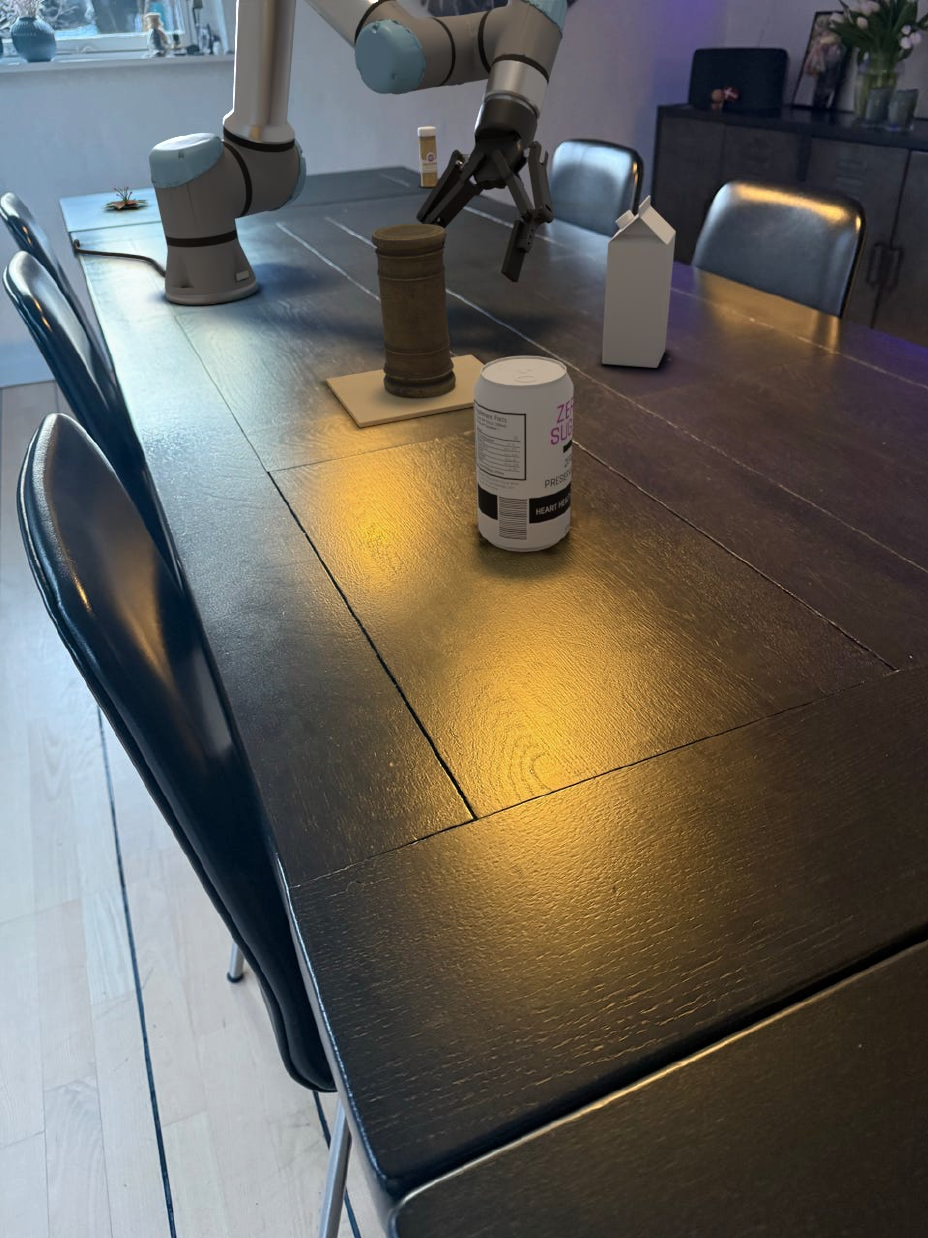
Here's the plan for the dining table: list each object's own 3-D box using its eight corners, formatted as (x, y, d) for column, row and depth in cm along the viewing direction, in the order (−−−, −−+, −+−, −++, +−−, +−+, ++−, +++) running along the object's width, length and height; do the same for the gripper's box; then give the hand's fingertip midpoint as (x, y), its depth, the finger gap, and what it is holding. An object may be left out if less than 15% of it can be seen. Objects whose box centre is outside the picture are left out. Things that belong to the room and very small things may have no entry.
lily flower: (143, 210, 218) (138, 190, 216) (94, 212, 219) (89, 192, 216) (157, 201, 228) (153, 181, 225) (111, 203, 228) (106, 183, 226)
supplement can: (474, 514, 84) (468, 356, 75) (561, 507, 84) (565, 350, 76) (483, 559, 77) (477, 391, 69) (577, 551, 78) (583, 383, 69)
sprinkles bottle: (427, 188, 227) (423, 128, 219) (417, 186, 230) (413, 127, 222) (442, 186, 229) (439, 126, 221) (432, 183, 232) (429, 125, 224)
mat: (326, 383, 114) (325, 378, 114) (471, 358, 120) (471, 354, 120) (359, 427, 102) (359, 422, 102) (520, 397, 108) (520, 393, 107)
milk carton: (665, 351, 119) (679, 195, 108) (656, 369, 114) (670, 207, 103) (612, 347, 121) (620, 194, 110) (601, 365, 116) (609, 206, 105)
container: (448, 400, 106) (439, 239, 96) (375, 397, 108) (359, 239, 98) (462, 373, 113) (456, 221, 103) (394, 371, 115) (381, 221, 105)
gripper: (609, 119, 108) (563, 290, 109) (451, 139, 123) (411, 289, 123) (580, 81, 102) (531, 262, 103) (417, 106, 117) (375, 264, 117)
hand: (465, 277), depth 113 cm, fingers open, 13 cm apart
